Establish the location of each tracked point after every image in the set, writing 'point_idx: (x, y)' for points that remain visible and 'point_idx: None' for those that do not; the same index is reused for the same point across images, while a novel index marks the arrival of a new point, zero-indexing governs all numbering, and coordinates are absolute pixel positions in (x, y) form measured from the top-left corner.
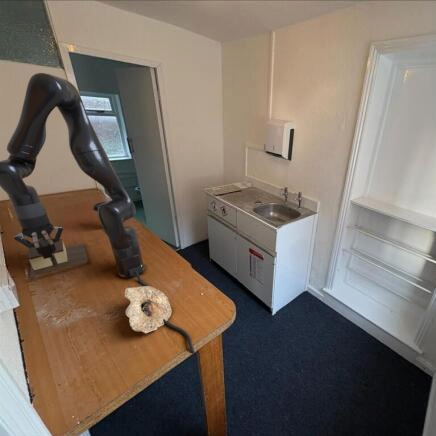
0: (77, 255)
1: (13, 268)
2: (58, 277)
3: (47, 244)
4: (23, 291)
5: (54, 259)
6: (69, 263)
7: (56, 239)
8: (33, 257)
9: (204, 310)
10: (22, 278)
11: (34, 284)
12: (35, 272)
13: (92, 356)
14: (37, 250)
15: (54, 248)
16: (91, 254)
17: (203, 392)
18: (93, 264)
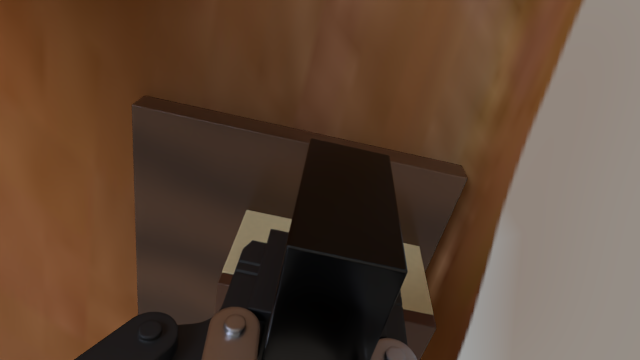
0: (185, 236)
1: (461, 345)
2: (343, 69)
3: (280, 307)
4: (550, 61)
5: None
6: (243, 172)
7: (140, 353)
8: (406, 318)
9: None
10: (480, 225)
11: (472, 100)
12: (424, 214)
13: None
14: (398, 314)
15: (249, 262)
16: (121, 210)
17: None
18: (120, 62)
